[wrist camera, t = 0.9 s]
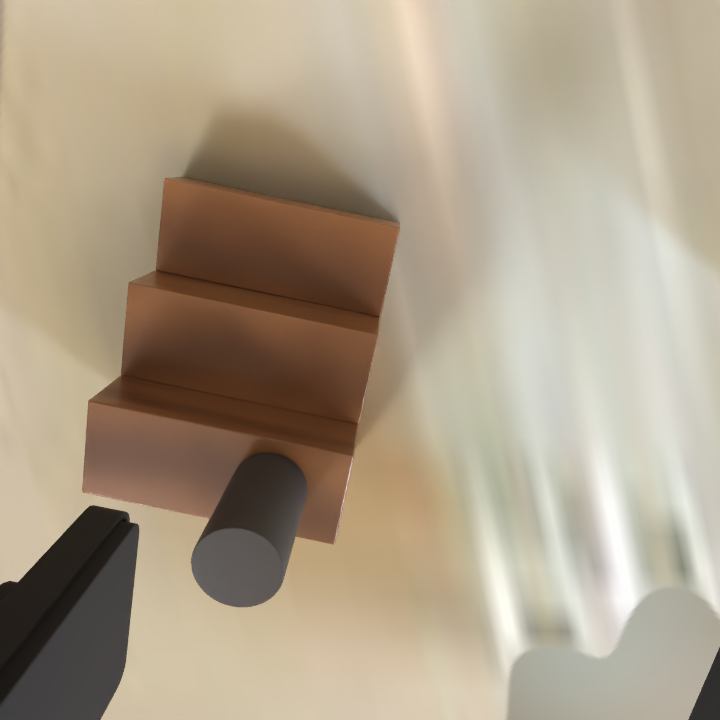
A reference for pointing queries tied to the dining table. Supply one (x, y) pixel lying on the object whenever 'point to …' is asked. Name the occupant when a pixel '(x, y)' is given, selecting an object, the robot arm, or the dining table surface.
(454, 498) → the dining table surface
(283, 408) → the step rack
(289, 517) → the cylinder
